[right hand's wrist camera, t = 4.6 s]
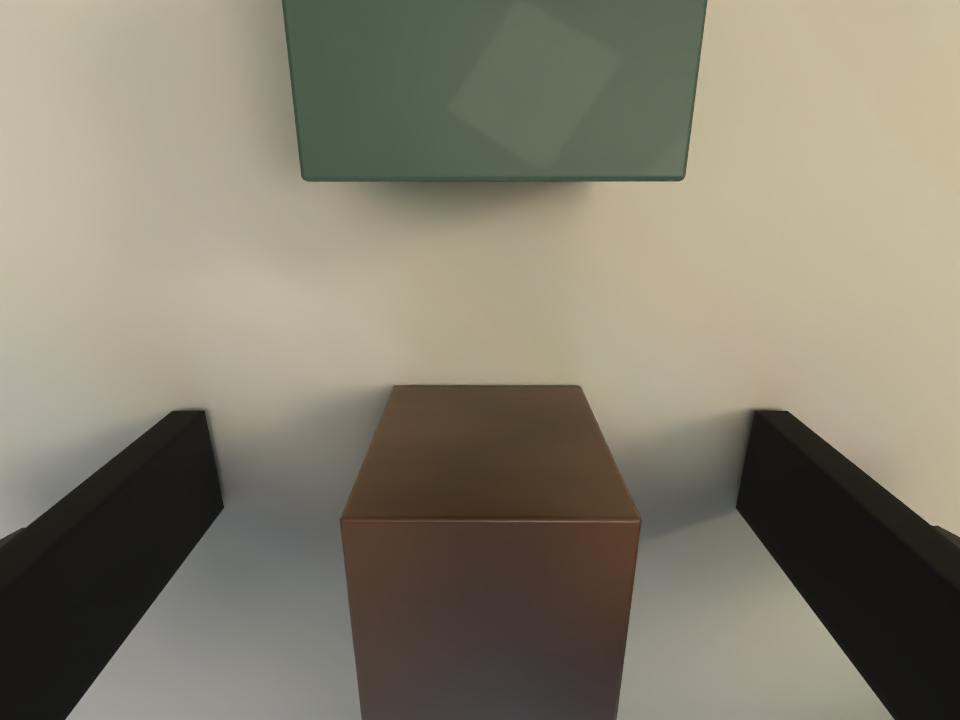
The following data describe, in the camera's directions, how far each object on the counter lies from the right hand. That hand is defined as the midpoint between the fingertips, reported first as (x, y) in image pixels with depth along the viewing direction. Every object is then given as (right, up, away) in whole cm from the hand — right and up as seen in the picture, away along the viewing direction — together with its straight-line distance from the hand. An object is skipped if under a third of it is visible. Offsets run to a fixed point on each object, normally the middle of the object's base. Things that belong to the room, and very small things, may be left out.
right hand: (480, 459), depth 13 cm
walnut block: (0, 0, 0) cm, 0 cm away
